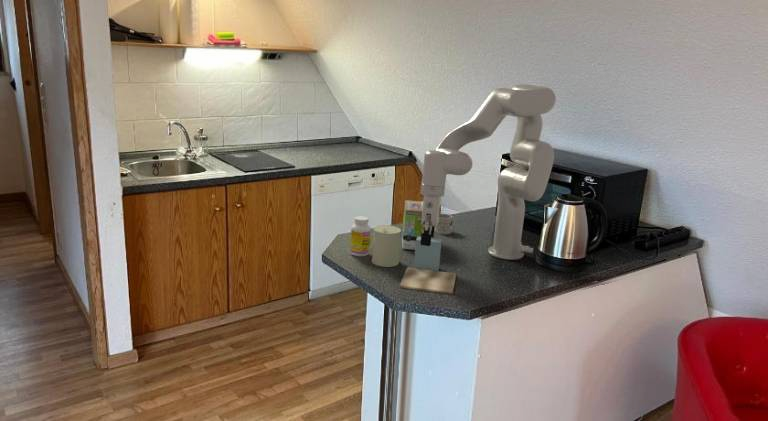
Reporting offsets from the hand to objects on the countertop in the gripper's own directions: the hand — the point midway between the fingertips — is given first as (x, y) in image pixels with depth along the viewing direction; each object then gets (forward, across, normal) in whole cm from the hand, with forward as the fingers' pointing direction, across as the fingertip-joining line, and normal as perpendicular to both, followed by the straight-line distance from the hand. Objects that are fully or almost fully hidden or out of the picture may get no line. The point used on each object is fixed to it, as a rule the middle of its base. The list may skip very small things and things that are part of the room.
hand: (427, 240), depth 194 cm
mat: (+10, -10, -3) cm, 14 cm away
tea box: (+10, +25, +6) cm, 27 cm away
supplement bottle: (+10, +7, +23) cm, 26 cm away
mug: (+9, +45, -2) cm, 46 cm away
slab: (+10, +1, -1) cm, 10 cm away
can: (+10, +2, +13) cm, 17 cm away
